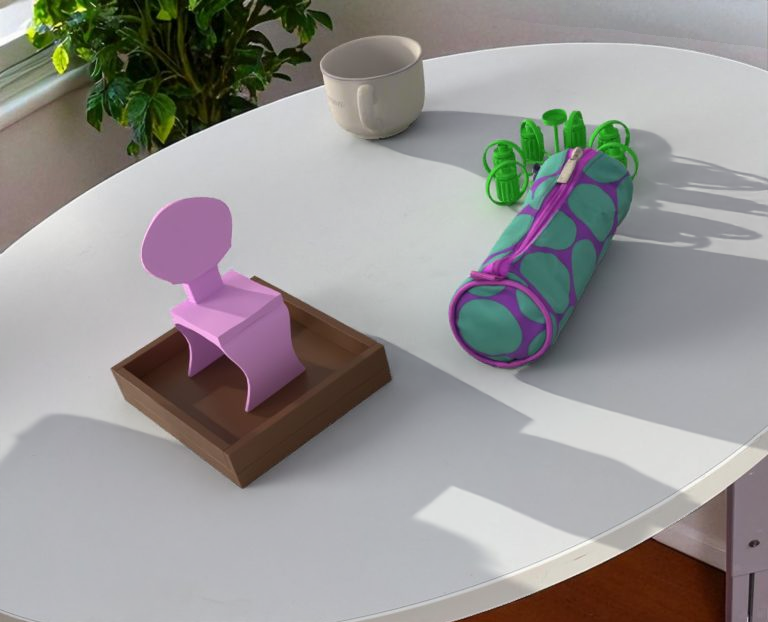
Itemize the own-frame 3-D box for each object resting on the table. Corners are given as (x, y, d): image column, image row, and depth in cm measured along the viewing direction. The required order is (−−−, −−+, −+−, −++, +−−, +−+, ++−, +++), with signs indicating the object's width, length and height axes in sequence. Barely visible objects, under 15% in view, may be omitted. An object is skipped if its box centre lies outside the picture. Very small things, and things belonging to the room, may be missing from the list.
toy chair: (242, 422, 84) (180, 260, 74) (178, 382, 89) (112, 226, 79) (319, 365, 87) (270, 202, 77) (253, 330, 93) (199, 173, 82)
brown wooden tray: (125, 399, 92) (109, 368, 89) (265, 307, 97) (254, 275, 95) (242, 489, 81) (228, 456, 79) (392, 379, 87) (384, 345, 84)
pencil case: (540, 227, 98) (530, 129, 91) (636, 235, 94) (633, 133, 87) (452, 371, 86) (433, 271, 79) (557, 387, 82) (546, 283, 75)
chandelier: (672, 187, 98) (672, 116, 93) (525, 246, 96) (517, 177, 91) (590, 127, 108) (586, 60, 103) (457, 179, 106) (446, 113, 101)
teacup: (352, 104, 122) (336, 34, 117) (443, 98, 119) (432, 26, 113) (315, 168, 114) (296, 96, 108) (412, 164, 110) (398, 89, 105)
